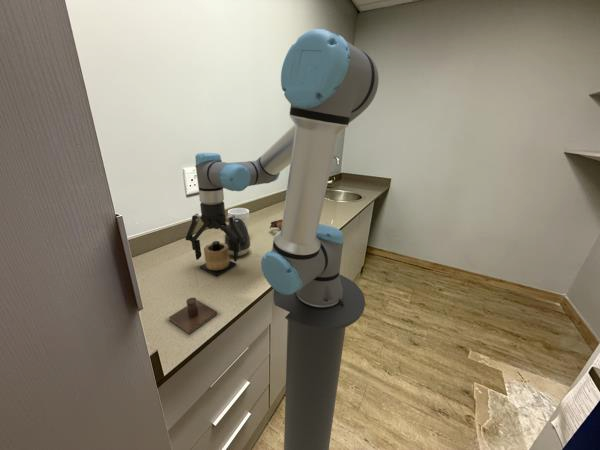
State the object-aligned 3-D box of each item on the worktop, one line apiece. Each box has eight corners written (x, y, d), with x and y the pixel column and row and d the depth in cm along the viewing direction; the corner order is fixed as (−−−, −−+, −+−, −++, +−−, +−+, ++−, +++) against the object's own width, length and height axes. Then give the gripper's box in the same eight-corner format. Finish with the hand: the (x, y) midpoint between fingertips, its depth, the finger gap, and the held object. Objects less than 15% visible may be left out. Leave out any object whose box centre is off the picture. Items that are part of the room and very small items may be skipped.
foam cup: (240, 243, 108) (238, 215, 103) (225, 238, 112) (223, 211, 108) (254, 236, 116) (253, 210, 111) (239, 231, 120) (238, 206, 115)
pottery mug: (271, 238, 115) (267, 222, 116) (273, 239, 124) (270, 224, 125) (296, 232, 115) (292, 216, 116) (296, 234, 124) (292, 218, 125)
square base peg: (236, 265, 90) (234, 241, 86) (216, 276, 83) (214, 250, 79) (219, 258, 94) (217, 235, 91) (199, 268, 87) (196, 243, 83)
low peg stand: (217, 314, 66) (215, 297, 64) (189, 334, 59) (186, 316, 57) (197, 302, 70) (195, 286, 68) (169, 320, 63) (166, 303, 61)
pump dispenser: (226, 261, 93) (223, 224, 87) (223, 249, 102) (221, 215, 96) (253, 257, 96) (252, 221, 91) (248, 246, 105) (246, 213, 100)
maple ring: (233, 263, 89) (232, 246, 87) (216, 272, 83) (214, 254, 81) (218, 257, 93) (217, 240, 91) (201, 265, 87) (199, 248, 84)
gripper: (252, 200, 83) (254, 255, 90) (180, 197, 83) (188, 252, 91) (247, 206, 76) (249, 265, 83) (168, 203, 76) (178, 262, 84)
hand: (217, 258), depth 87 cm, fingers open, 13 cm apart
